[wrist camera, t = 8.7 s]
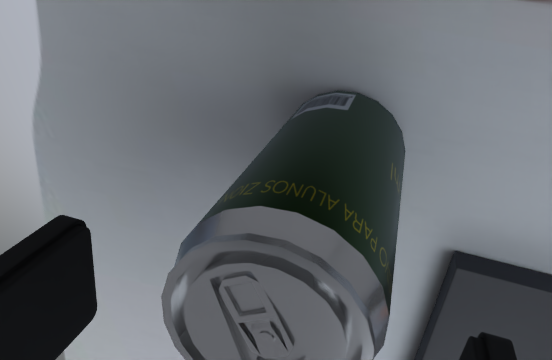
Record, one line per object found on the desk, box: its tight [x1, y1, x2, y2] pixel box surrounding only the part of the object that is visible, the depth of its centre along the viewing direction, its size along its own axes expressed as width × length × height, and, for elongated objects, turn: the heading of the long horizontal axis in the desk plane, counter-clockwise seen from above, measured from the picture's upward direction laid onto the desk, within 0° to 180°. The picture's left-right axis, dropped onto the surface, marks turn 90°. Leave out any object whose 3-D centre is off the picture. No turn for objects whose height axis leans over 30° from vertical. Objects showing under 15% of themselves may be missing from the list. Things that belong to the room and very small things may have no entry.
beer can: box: [162, 91, 405, 360], centre depth 15 cm, size 5×5×12 cm
